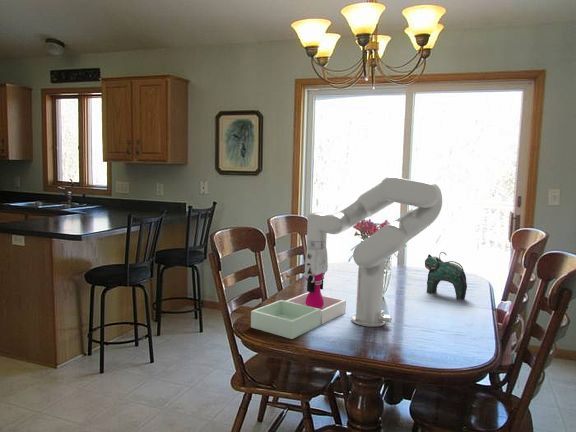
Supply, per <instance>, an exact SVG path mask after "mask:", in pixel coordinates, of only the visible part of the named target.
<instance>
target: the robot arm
mask: <svg viewBox="0 0 576 432" xmlns="http://www.w3.org/2000/svg"><path fill="white" fill-rule="evenodd" d="M393 203H397V204H403V205H408V206H413V207H412V208H411V209H409V210H408V211H406V212H405V213H404V214H403V215H401V216H400V217H399V218H397V219H395V220H393V221H391V222H389V223H387V224H386V225H384V226H382V227H381V228H380V229H378V230H376V231H375V232H374V233H372V234H371V235H370V236H368V237H367V238H365V239H364V240H363V241H361V242H360V243H358V244H357V245H356V246H355V247H354V249H353V253H352V256H353V261H354V263H355V264H356V265H357V266H358V268H357V282H356V284H357V287H356V305H355V306H356V308H355V314H354V315H352V316H351V321H352V322H353V324H356V325H359V326H363V327H371V328H375V327H381V326H382V327H383V326H384V325H385V324H386V323H390V324H391V323H392V316H391V315H388V314H385V310H383V299H384V298H383V297H384V296H383V294H384V278H385V265H386V259H388V258H389V257H391V256H393V254H396V253H397V252H398V251H400V250H401V249H403V247H404V246H405V245H406V244H407V243H408V242H409V241H410V240H412V239H413V238H414V237H416V236H418V235H419V234H420V233H422V232H423V231H424V230H425V229H427V228H428V227H429V226H431V224H433V223H434V222H435V221H436V219H437V218H438V217H439V215H440V214H441V210H442V206H443V194H442V191H441V188H440V187H439V186H438V185H437V184H436V183H434V182H431V181H426V182H425V181H418V180H414V179H413V180H412V179H406V178H403V177H401V176H399V175H390V176H387V177H385V178H383V179H382V180H381V182H380V183H378V184H376V185H375V186H374V187H371V189H369V190H367V191H365V192H364V193H362V194H360V195H359V197H357V199H356V200H355V201H354V202H353V203H351V204H349V205H348V206H347V207H345V208H344V209H342V210H340V211H338V212H336V213H333V214H326V213H325V212H324V213H323V212H310V213H309V214H308V215H307V224H306V225H307V228H306V233H307V234H306V252H305V253H306V254H305V262H304V273H303V276H304V278H305V279H306V285H307V286H306V292H312V293H314V292H315V282H314V279H315V276H316V275H319V274H321V273H323V277H322V278H321V280H322V281H321V282H322V284H321V285H320V291H322V290H324V279H325V275H326V273H327V272H328V266H329V263H328V261H329V260H328V258H329V257H328V250H327V249H328V248H327V238H328V237H327V236H328V235H327V234H329V235H338V234H340V233H342V232H346V230H349V229H350V228H351V227H353V226H355V225H357V224H359V223H360V222H362V221H364V220H365V219H367V218H370V217H372V216H373V215H375V214H377V213H379V212H380V211H381V210H383V209H385V208H387V207H388V206H390V205H392V204H393ZM310 272H311V273H312V274H310ZM310 275H311V276H312V278H311V277H310Z"/></svg>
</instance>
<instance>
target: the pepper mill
mask: <svg viewBox="0 0 576 432" xmlns="http://www.w3.org/2000/svg"><path fill="white" fill-rule="evenodd" d="M310 274H312V273H311V272H310ZM310 277H311V278H312V276H311V275H310ZM322 277H323V273H321V274H319V275H316V276H315V279H314V282H315V292H314V293H312V292H309V294H308V296H307V298H306V302H305V303H306V306H310V307H314V308H318V309H321V310H322V309H323V308H322V306H323V305H324V300H323V297H322V295H323V294H322V292H321V291H322V290H321V289H320V285H321V284H322V282H321V281H322V280H321V278H322Z"/></svg>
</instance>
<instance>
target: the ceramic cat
mask: <svg viewBox="0 0 576 432" xmlns="http://www.w3.org/2000/svg"><path fill="white" fill-rule="evenodd" d="M442 254H444V255H445V256H447V253H446V252H444V251H441V252H440V253H439V257H437V256H432V255H431V254H430V253H429V254H428V256H427V258H425V259H424V267H425V268H426V269H427V270H428V274H427V280H426V292H427V293H428V294H429V293H430V294H435V293H437V291H438V285H439V284H440V283H441V282H448V283H450V284H452V285H453V288H454V291H455V299H456V300H458V299H459V300H458V301H464V300H465V299H466V294H467V290H468V289H467V288H468V283H467V276H466V273H465V270H464V267H463V266H462V265H461V264H460V263H459V262H457V261H452V260H449V261H443V260H442V259H441V255H442ZM463 299H464V300H463Z"/></svg>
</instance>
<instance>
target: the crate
mask: <svg viewBox="0 0 576 432" xmlns="http://www.w3.org/2000/svg"><path fill="white" fill-rule="evenodd" d="M308 294H309V292H308V291H306V292H305V293H302V294H299V295H297V296H294V297H291V298H289V299H286V300H285V301H288V302H293V303H297V304H301V305H306V303H305V302H306V298H307V296H308ZM321 295H322V297H323V300H324V305H323V306H322V308H321V309H322V310H321V323H320V325H323V324H325V323H328V322H330V321H332V320H334V319H335V318H337V317H340V316H341V315H343V314H345V313H346V309H347V308H346V307H347V306H346V305H347V300H346V299H342V298H337V297H333V296H328V295H327V296H326V295H323V294H321Z"/></svg>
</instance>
